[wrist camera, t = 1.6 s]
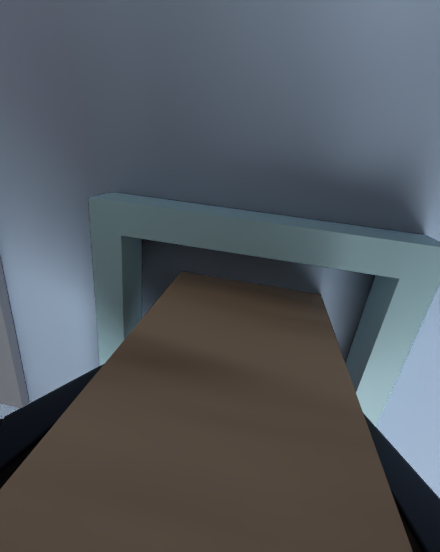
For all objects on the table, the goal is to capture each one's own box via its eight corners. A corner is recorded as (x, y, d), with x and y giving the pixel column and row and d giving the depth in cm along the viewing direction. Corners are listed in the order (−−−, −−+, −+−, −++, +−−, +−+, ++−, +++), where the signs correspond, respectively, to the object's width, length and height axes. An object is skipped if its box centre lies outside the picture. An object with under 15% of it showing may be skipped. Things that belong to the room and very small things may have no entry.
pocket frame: (338, 458, 13) (345, 495, 11) (121, 408, 14) (104, 436, 12) (425, 235, 9) (454, 249, 7) (113, 192, 10) (88, 197, 8)
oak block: (291, 402, 12) (332, 947, 4) (174, 377, 12) (-17, 801, 4) (320, 294, 10) (551, 939, 2) (181, 271, 11) (-150, 669, 2)
